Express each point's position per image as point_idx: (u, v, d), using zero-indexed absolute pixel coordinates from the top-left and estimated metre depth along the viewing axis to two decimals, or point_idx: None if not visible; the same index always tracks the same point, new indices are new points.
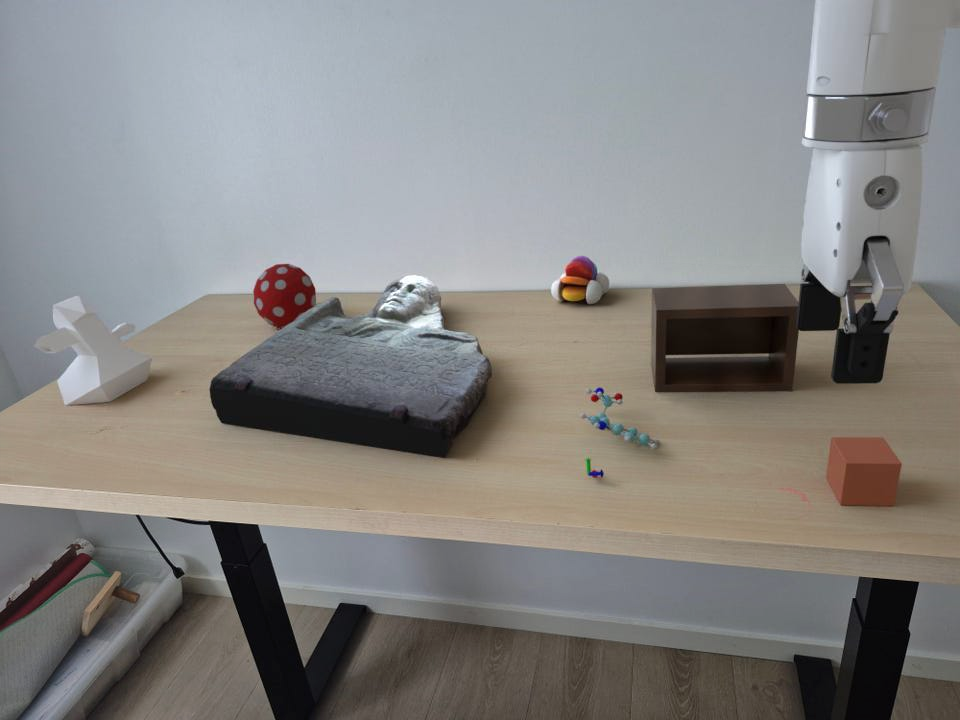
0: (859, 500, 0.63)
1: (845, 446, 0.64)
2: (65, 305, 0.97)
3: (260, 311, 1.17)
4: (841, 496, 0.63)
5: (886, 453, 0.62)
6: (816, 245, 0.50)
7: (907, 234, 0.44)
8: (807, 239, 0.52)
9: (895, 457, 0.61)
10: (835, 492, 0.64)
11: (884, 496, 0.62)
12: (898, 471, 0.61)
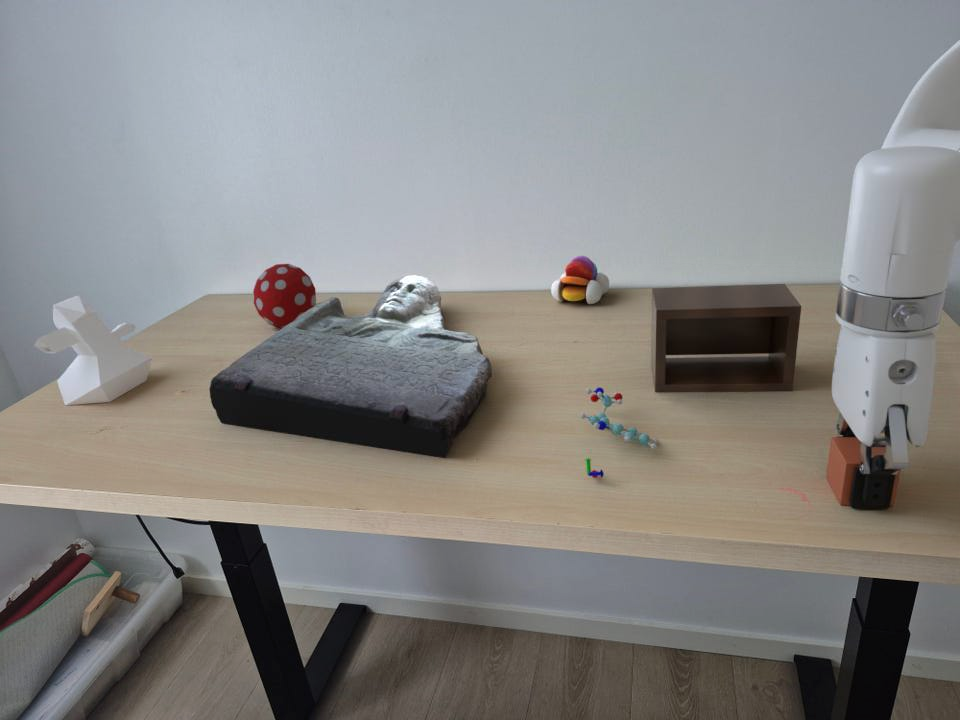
0: None
1: (845, 446, 0.64)
2: (65, 305, 0.97)
3: (260, 311, 1.17)
4: (841, 496, 0.63)
5: None
6: (847, 398, 0.61)
7: (923, 403, 0.55)
8: (838, 387, 0.63)
9: None
10: (835, 492, 0.64)
11: None
12: None
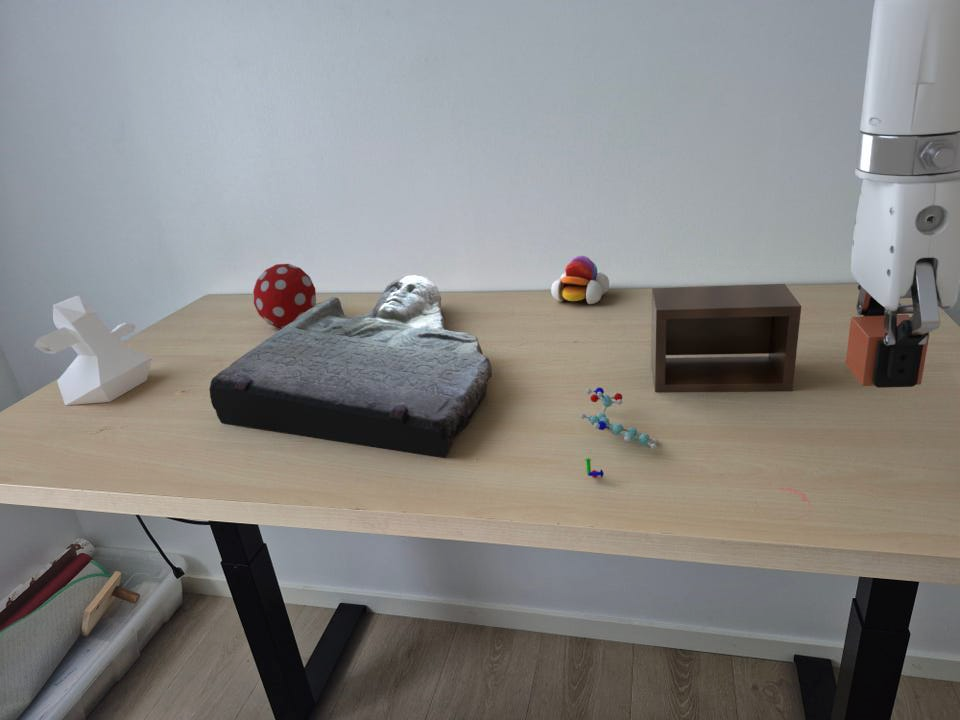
0: None
1: (866, 323, 0.59)
2: (65, 305, 0.97)
3: (260, 311, 1.17)
4: (863, 375, 0.58)
5: None
6: (868, 264, 0.56)
7: (954, 255, 0.50)
8: (858, 257, 0.58)
9: None
10: (856, 374, 0.60)
11: None
12: (925, 344, 0.56)
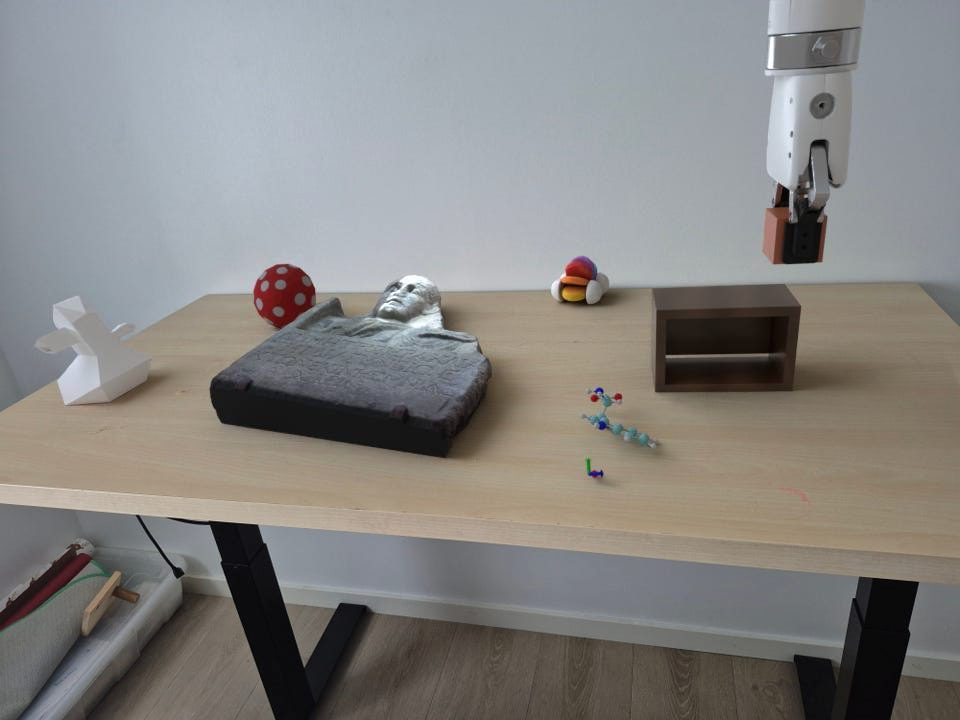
0: None
1: (777, 211, 0.68)
2: (65, 305, 0.97)
3: (260, 311, 1.17)
4: (773, 255, 0.67)
5: None
6: (776, 154, 0.65)
7: (842, 137, 0.59)
8: (770, 153, 0.67)
9: None
10: (769, 256, 0.69)
11: None
12: (824, 224, 0.65)
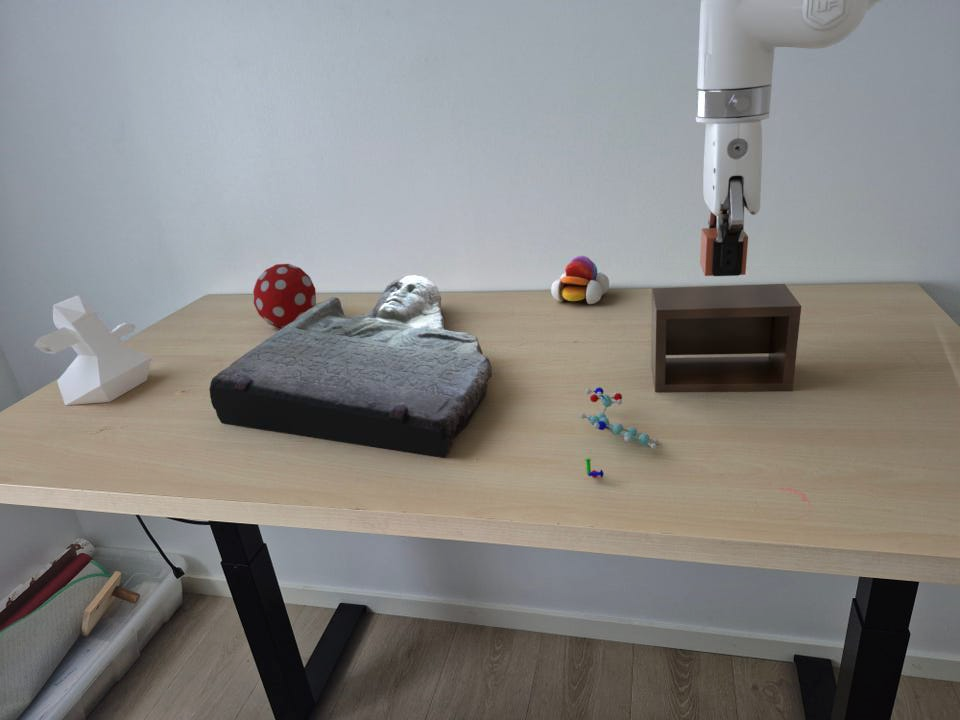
0: None
1: (710, 231, 0.82)
2: (65, 305, 0.97)
3: (260, 311, 1.17)
4: (705, 268, 0.81)
5: None
6: (706, 185, 0.78)
7: (754, 174, 0.73)
8: (704, 183, 0.81)
9: (745, 234, 0.79)
10: (703, 269, 0.82)
11: None
12: (746, 243, 0.79)
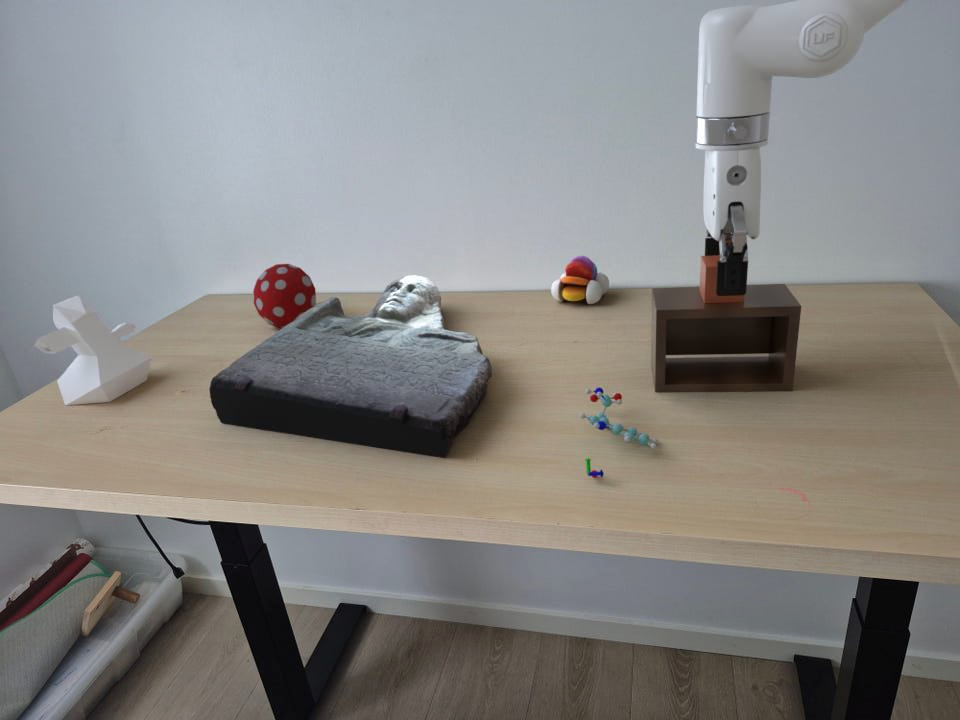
0: (718, 298, 0.82)
1: (709, 259, 0.83)
2: (65, 305, 0.97)
3: (260, 311, 1.17)
4: (704, 295, 0.82)
5: None
6: (706, 210, 0.79)
7: (753, 200, 0.74)
8: (704, 207, 0.82)
9: None
10: (702, 296, 0.84)
11: None
12: None
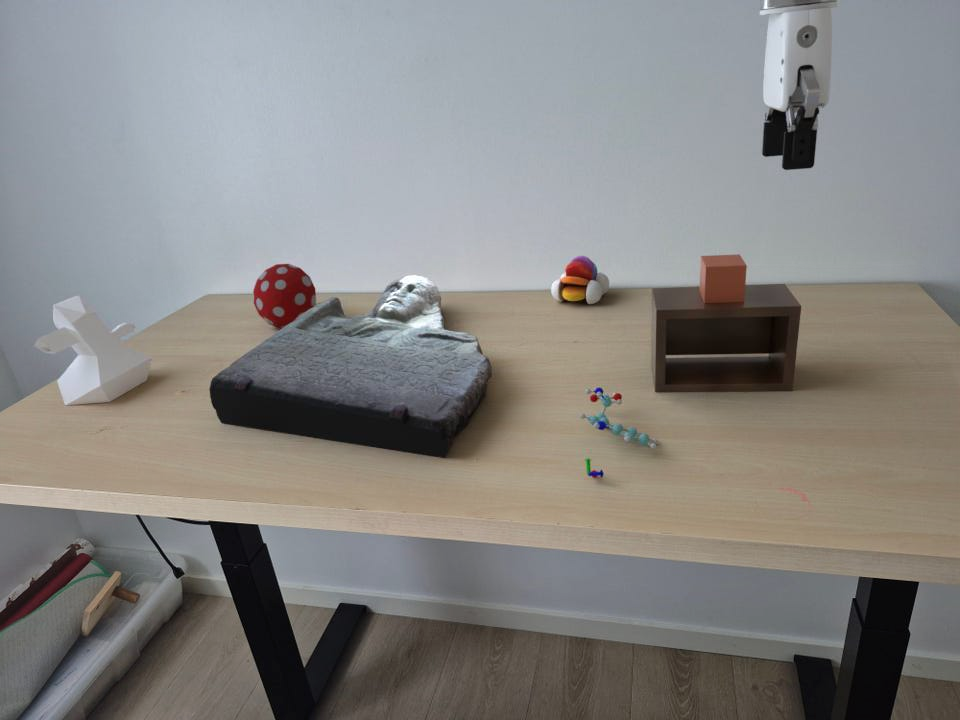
0: (718, 298, 0.82)
1: (709, 259, 0.83)
2: (65, 305, 0.97)
3: (260, 311, 1.17)
4: (704, 295, 0.82)
5: (737, 261, 0.81)
6: (771, 83, 0.77)
7: (824, 63, 0.72)
8: (766, 84, 0.80)
9: (743, 262, 0.81)
10: (702, 296, 0.84)
11: (736, 294, 0.81)
12: (744, 271, 0.80)
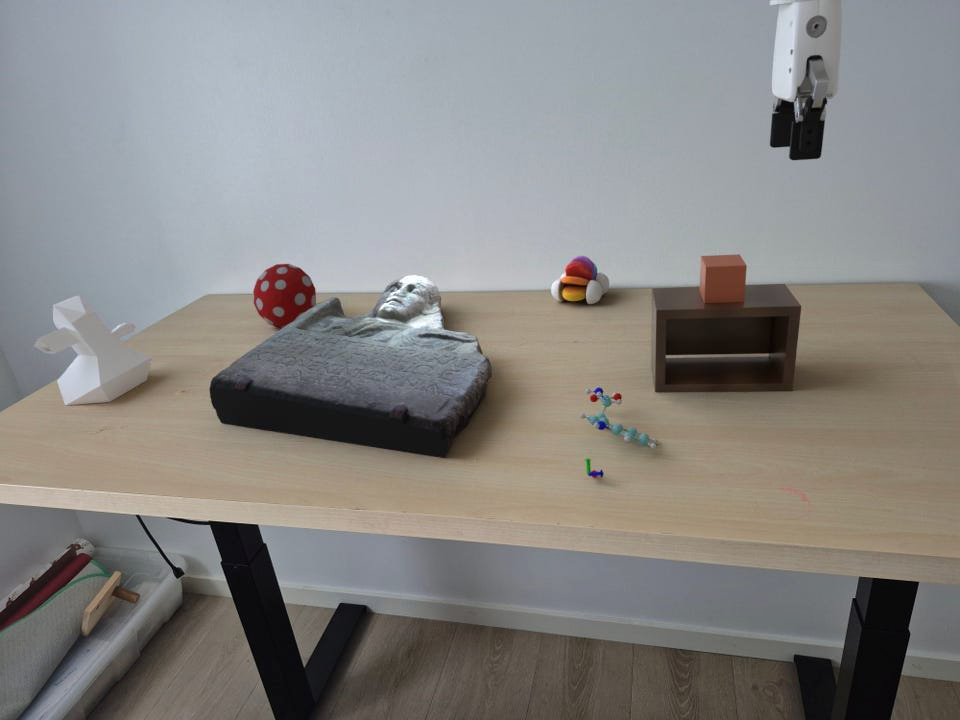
0: (718, 298, 0.82)
1: (709, 259, 0.83)
2: (65, 305, 0.97)
3: (260, 311, 1.17)
4: (704, 295, 0.82)
5: (737, 261, 0.81)
6: (779, 73, 0.77)
7: (833, 53, 0.72)
8: (775, 74, 0.80)
9: (743, 262, 0.81)
10: (702, 296, 0.84)
11: (736, 294, 0.81)
12: (744, 271, 0.80)
